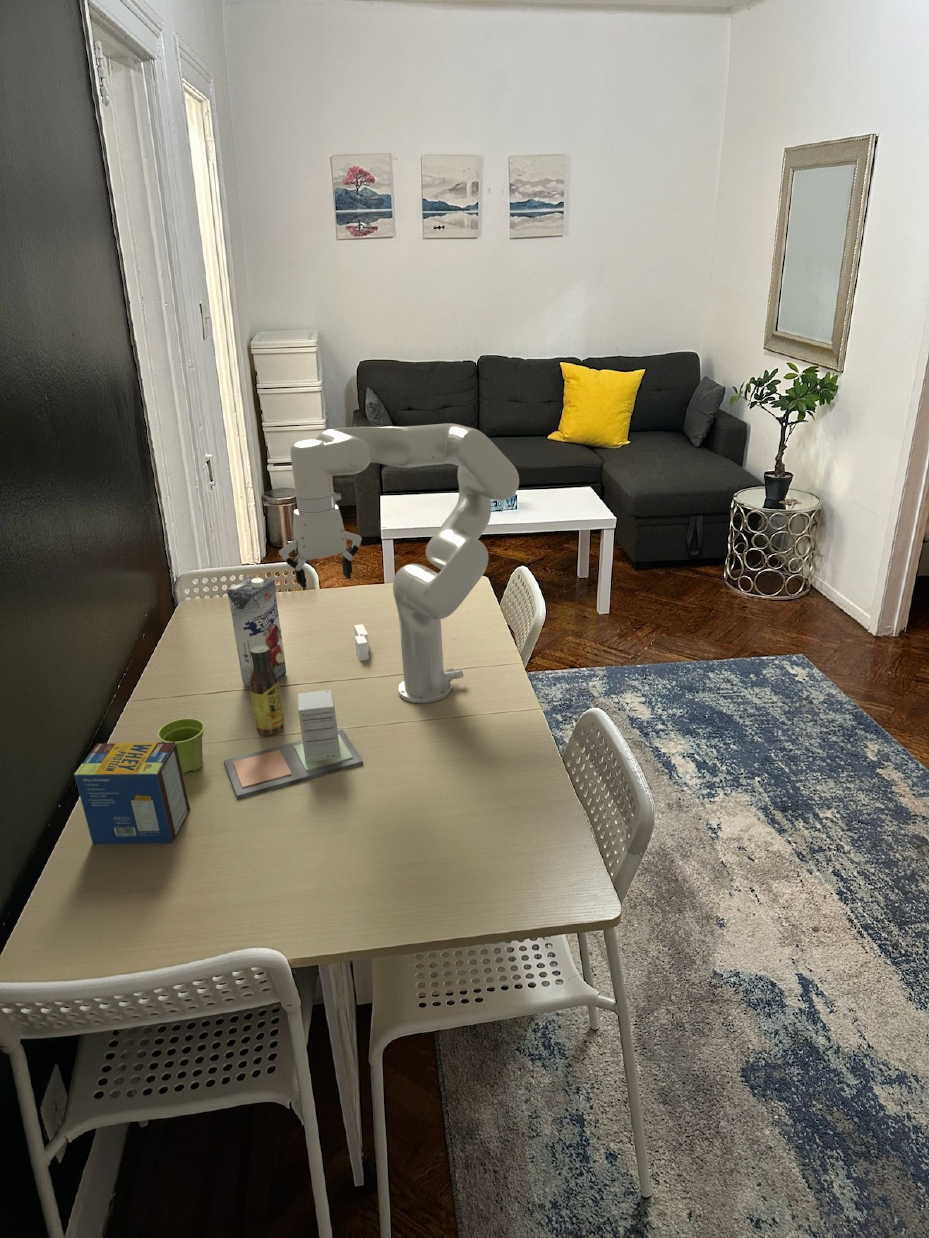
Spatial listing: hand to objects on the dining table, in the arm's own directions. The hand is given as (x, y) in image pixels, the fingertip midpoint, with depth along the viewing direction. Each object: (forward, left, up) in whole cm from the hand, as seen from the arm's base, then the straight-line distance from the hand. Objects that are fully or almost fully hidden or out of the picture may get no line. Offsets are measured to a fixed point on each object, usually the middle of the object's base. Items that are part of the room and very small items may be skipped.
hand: (325, 581), depth 185 cm
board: (+14, +12, -34) cm, 39 cm away
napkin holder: (-15, -32, -35) cm, 50 cm away
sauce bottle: (+15, -4, -34) cm, 38 cm away
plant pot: (+34, +2, -34) cm, 48 cm away
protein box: (+45, +19, -34) cm, 60 cm away
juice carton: (+11, -28, -34) cm, 46 cm away
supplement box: (+8, +12, -33) cm, 36 cm away
